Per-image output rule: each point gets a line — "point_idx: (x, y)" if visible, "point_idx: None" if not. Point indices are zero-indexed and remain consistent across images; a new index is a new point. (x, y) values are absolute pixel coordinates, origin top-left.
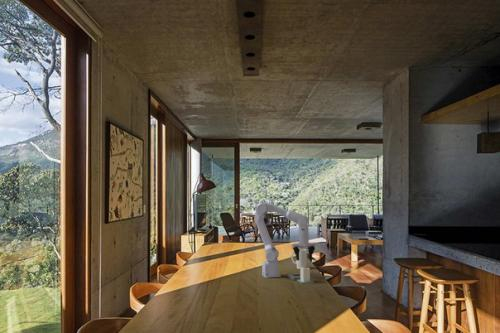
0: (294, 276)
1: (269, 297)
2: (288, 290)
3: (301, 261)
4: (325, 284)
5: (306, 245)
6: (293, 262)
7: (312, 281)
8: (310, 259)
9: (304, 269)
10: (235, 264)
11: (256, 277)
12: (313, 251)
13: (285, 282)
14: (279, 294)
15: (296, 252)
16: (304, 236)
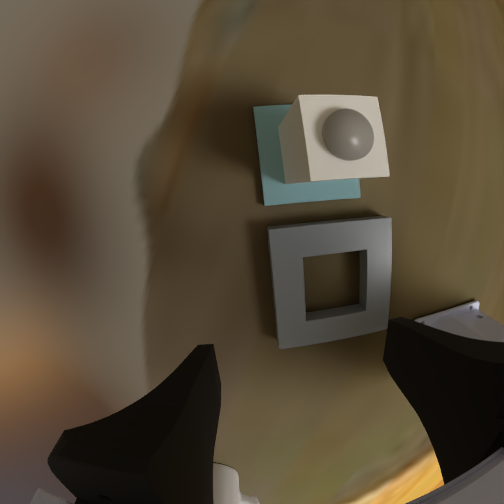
0: (368, 251)
1: (478, 4)
2: (432, 24)
3: (217, 495)
4: (189, 50)
5: (494, 489)
6: (255, 501)
7: (262, 112)
8: (208, 344)
9: (361, 98)
10: (425, 486)
11: (493, 318)
12: (118, 412)
13: (433, 172)
14: (458, 6)
15: (498, 347)
16: None
